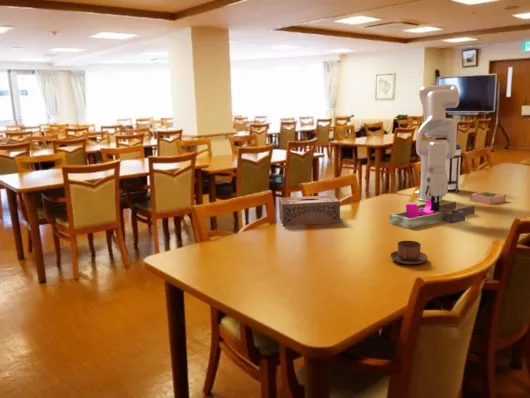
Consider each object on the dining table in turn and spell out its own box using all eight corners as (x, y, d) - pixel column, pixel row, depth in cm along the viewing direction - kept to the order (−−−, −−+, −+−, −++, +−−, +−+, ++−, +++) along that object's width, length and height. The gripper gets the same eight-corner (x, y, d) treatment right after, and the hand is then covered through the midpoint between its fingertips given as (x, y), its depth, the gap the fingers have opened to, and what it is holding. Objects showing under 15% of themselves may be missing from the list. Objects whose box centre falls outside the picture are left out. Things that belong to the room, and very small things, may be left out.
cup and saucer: (429, 267, 154) (430, 249, 153) (391, 266, 156) (391, 248, 155) (425, 256, 166) (425, 239, 164) (389, 255, 168) (389, 238, 167)
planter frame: (470, 200, 247) (470, 194, 246) (484, 197, 252) (485, 191, 252) (490, 204, 237) (490, 197, 236) (505, 201, 243) (505, 194, 242)
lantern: (426, 190, 278) (428, 138, 272) (447, 187, 285) (449, 136, 279) (449, 194, 263) (452, 140, 257) (470, 191, 269) (473, 138, 263)
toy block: (417, 222, 206) (416, 205, 205) (406, 220, 212) (405, 204, 211) (441, 217, 213) (440, 200, 213) (430, 215, 219) (429, 199, 218)
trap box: (381, 221, 213) (381, 212, 212) (445, 207, 233) (445, 199, 232) (418, 231, 195) (419, 221, 194) (484, 216, 215) (484, 207, 214)
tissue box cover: (282, 226, 212) (282, 204, 209) (279, 218, 226) (278, 197, 224) (340, 223, 213) (339, 201, 211) (333, 215, 227) (333, 195, 225)
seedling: (487, 211, 242) (486, 203, 246) (499, 204, 237) (498, 196, 241) (479, 204, 240) (478, 197, 244) (491, 198, 235) (490, 190, 239)
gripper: (431, 172, 202) (430, 214, 206) (455, 169, 210) (453, 209, 213) (418, 170, 209) (416, 211, 212) (440, 167, 216) (439, 206, 220)
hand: (435, 210), depth 213 cm, fingers closed
